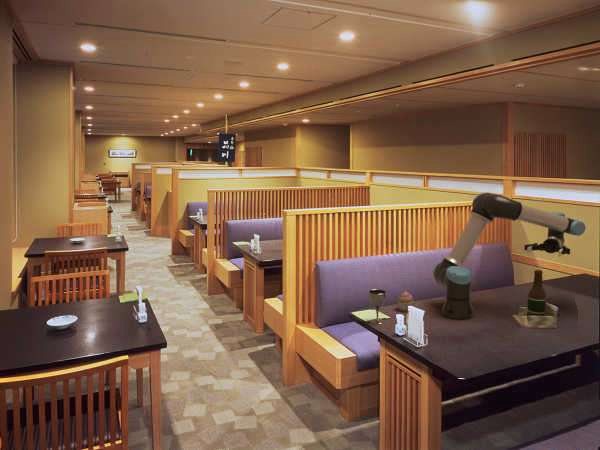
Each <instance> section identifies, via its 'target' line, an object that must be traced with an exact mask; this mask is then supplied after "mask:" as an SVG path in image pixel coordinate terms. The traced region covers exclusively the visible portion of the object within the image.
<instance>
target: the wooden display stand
mask: <svg viewBox="0 0 600 450" xmlns="http://www.w3.org/2000/svg"><path fill="white" fill-rule="evenodd" d="M527 310H528V306H527V307H525V306H520V307H519V309H518V311H519V312H518V314H512V318H513V319H514V321H515V322H516V323H517V324H518V325H519V326H520V327H521V328H528V329H529V328H533V329H535V328H536V329H538V328H540V329H541V328H542V329H557V328H558V325H557V324H558V310H557V308H555V307H554V306H552V305H551V304H550V303H549V302H547V301H546V309H545V316H528V319H527Z"/></svg>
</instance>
